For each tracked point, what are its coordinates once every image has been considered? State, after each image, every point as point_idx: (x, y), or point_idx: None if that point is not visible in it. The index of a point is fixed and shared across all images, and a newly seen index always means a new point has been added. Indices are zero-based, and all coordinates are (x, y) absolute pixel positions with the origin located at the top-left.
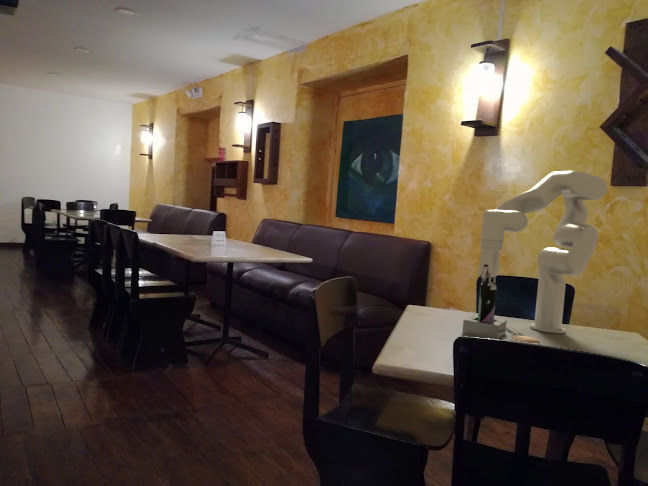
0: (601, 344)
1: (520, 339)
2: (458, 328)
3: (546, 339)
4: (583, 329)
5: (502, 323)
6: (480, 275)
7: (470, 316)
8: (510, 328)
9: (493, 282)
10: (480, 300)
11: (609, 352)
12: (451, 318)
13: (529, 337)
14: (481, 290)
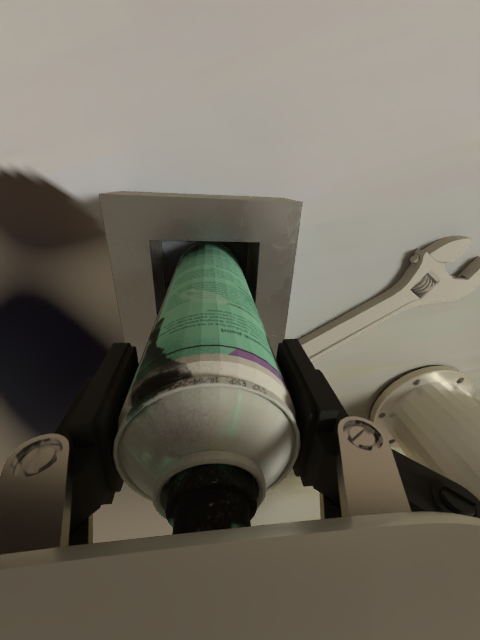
0: (319, 502)
1: None
2: (217, 138)
3: None
4: None
5: None
6: (31, 573)
7: (233, 202)
8: (335, 336)
9: (323, 490)
10: (162, 313)
11: (252, 520)
12: (454, 9)
13: None
14: (98, 380)
